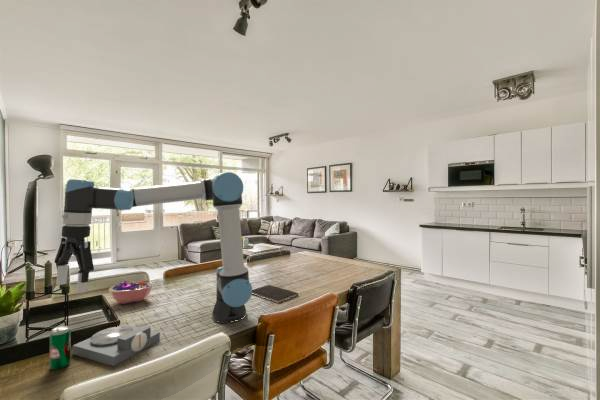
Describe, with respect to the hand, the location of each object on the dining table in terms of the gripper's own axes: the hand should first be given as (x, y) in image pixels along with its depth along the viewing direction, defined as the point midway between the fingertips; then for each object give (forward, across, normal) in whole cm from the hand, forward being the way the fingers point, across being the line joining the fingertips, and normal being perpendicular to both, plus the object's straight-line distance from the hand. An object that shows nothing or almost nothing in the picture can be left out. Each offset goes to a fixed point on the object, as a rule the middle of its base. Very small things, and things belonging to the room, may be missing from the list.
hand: (71, 288), depth 95 cm
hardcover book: (+19, +26, +87) cm, 92 cm away
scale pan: (+19, +5, +12) cm, 23 cm away
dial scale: (+22, +8, +13) cm, 27 cm away
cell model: (+23, -32, +42) cm, 58 cm away
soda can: (+24, +4, -3) cm, 24 cm away
